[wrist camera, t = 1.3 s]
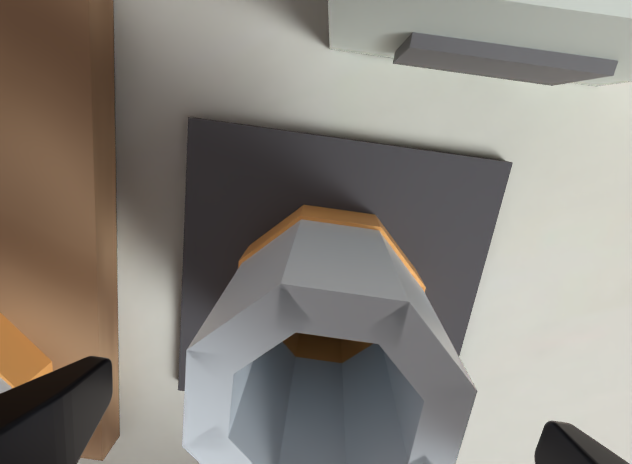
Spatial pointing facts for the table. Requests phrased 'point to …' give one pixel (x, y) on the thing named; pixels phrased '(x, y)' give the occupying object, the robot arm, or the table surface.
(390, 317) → the sleeve
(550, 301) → the table surface
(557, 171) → the table surface
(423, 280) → the pad
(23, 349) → the sleeve
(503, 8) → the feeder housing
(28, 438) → the robot arm
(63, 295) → the pin board
